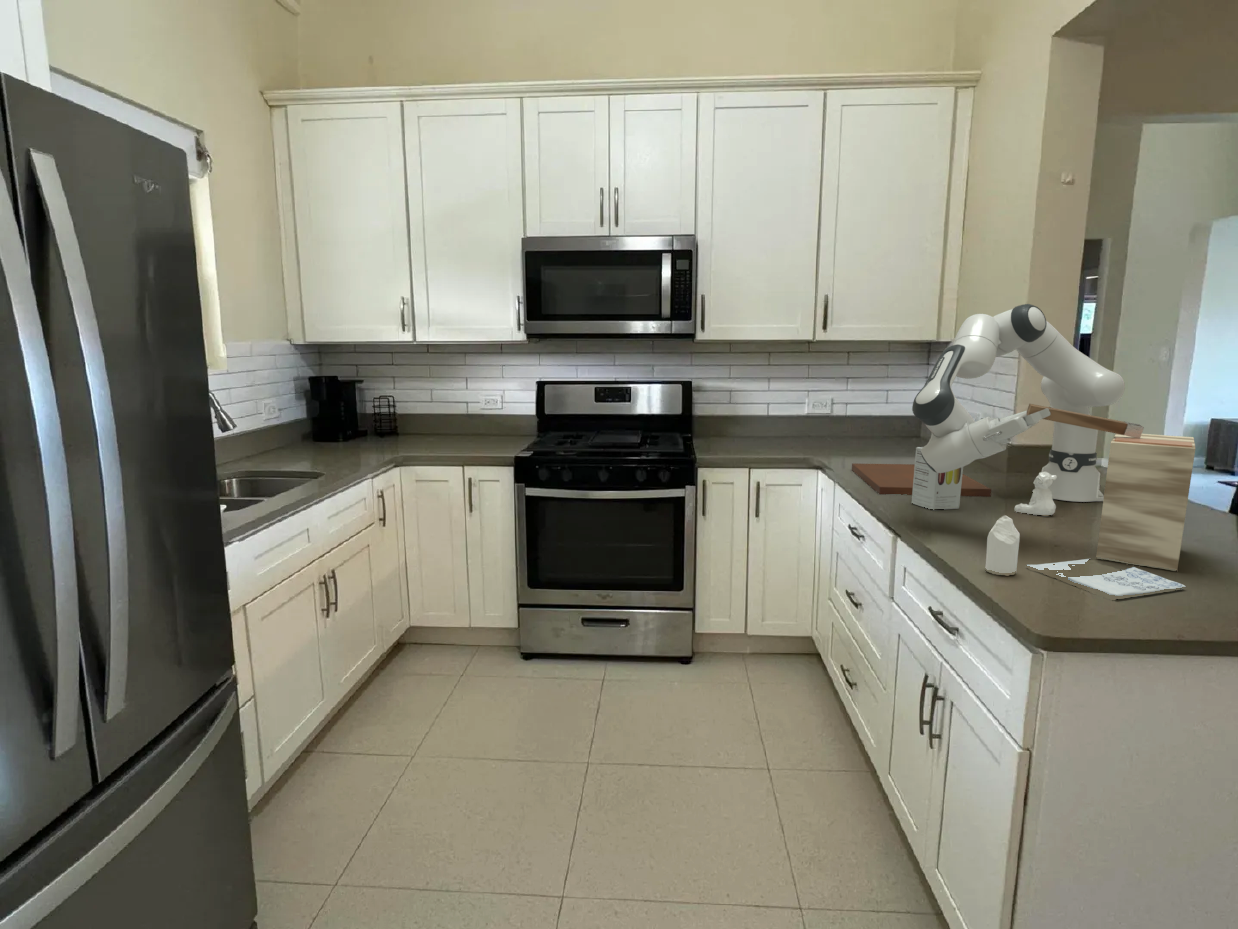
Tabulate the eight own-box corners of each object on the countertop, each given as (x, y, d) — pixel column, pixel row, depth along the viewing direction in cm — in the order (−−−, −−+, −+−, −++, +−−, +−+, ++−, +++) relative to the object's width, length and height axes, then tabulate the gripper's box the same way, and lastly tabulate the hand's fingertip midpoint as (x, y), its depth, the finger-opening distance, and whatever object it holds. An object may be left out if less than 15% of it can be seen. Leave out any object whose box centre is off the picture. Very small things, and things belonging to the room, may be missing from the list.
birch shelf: (1103, 538, 169) (1117, 430, 164) (1176, 549, 160) (1193, 435, 156) (1095, 559, 153) (1110, 440, 149) (1176, 572, 145) (1195, 447, 140)
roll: (998, 520, 140) (983, 513, 146) (993, 576, 143) (978, 567, 148) (1028, 519, 141) (1011, 512, 146) (1022, 576, 143) (1006, 567, 148)
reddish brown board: (945, 473, 252) (851, 471, 256) (945, 464, 251) (852, 463, 255) (990, 498, 213) (879, 496, 216) (991, 489, 212) (879, 486, 216)
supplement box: (932, 511, 196) (937, 451, 193) (910, 503, 204) (914, 446, 201) (960, 508, 199) (965, 450, 195) (937, 501, 207) (941, 445, 204)
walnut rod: (1025, 413, 163) (1029, 403, 162) (1134, 435, 156) (1139, 424, 155) (1028, 416, 159) (1031, 405, 159) (1139, 438, 152) (1144, 427, 151)
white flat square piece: (1112, 604, 129) (1114, 593, 129) (1022, 570, 148) (1023, 560, 148) (1187, 593, 135) (1189, 583, 134) (1091, 561, 154) (1092, 552, 153)
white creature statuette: (1036, 508, 198) (1041, 467, 196) (1065, 515, 190) (1070, 472, 188) (1012, 511, 195) (1016, 469, 193) (1040, 519, 187) (1045, 475, 185)
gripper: (974, 428, 160) (1037, 401, 151) (992, 419, 176) (1050, 394, 167) (987, 453, 159) (1051, 427, 150) (1004, 442, 175) (1063, 418, 166)
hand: (1051, 410), depth 159 cm, fingers closed on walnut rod, 4 cm apart
